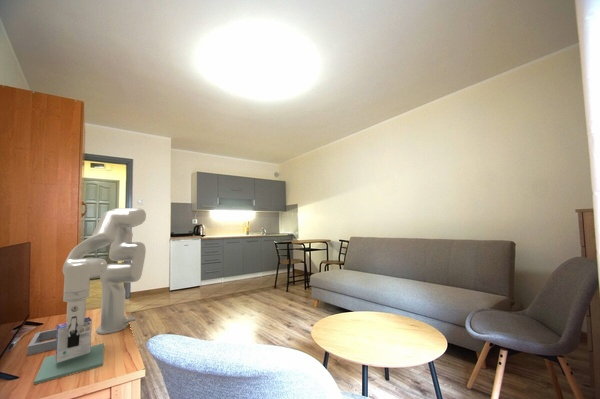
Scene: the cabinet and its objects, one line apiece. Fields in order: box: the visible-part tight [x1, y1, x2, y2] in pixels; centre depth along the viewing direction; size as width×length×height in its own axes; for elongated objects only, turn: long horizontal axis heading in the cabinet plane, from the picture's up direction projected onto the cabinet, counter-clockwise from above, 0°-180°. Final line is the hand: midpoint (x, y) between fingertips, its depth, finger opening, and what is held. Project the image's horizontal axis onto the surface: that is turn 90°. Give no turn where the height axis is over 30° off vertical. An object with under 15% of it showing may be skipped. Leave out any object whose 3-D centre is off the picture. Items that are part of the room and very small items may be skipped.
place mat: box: [33, 343, 105, 386], centre depth 97 cm, size 18×18×1 cm
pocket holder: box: [26, 328, 57, 356], centre depth 112 cm, size 15×15×4 cm
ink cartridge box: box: [55, 316, 92, 363], centre depth 97 cm, size 10×6×14 cm, turn 138°
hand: (74, 342), depth 97 cm, fingers closed on ink cartridge box, 6 cm apart
